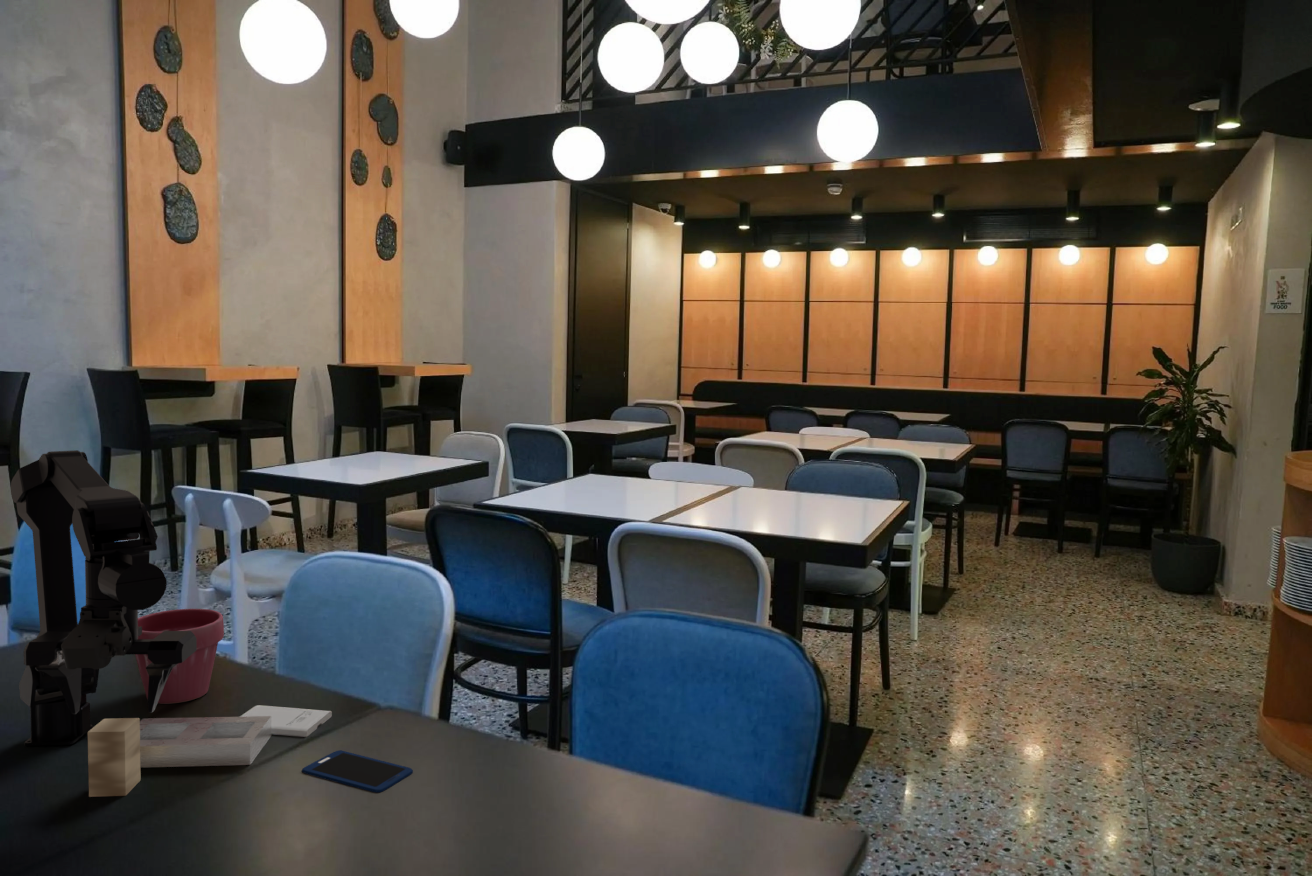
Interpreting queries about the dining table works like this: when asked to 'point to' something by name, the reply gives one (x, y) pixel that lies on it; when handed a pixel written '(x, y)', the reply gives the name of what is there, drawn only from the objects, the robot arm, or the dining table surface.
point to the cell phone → (358, 771)
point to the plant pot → (197, 668)
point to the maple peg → (114, 757)
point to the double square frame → (202, 740)
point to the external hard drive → (291, 719)
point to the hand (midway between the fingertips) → (113, 712)
